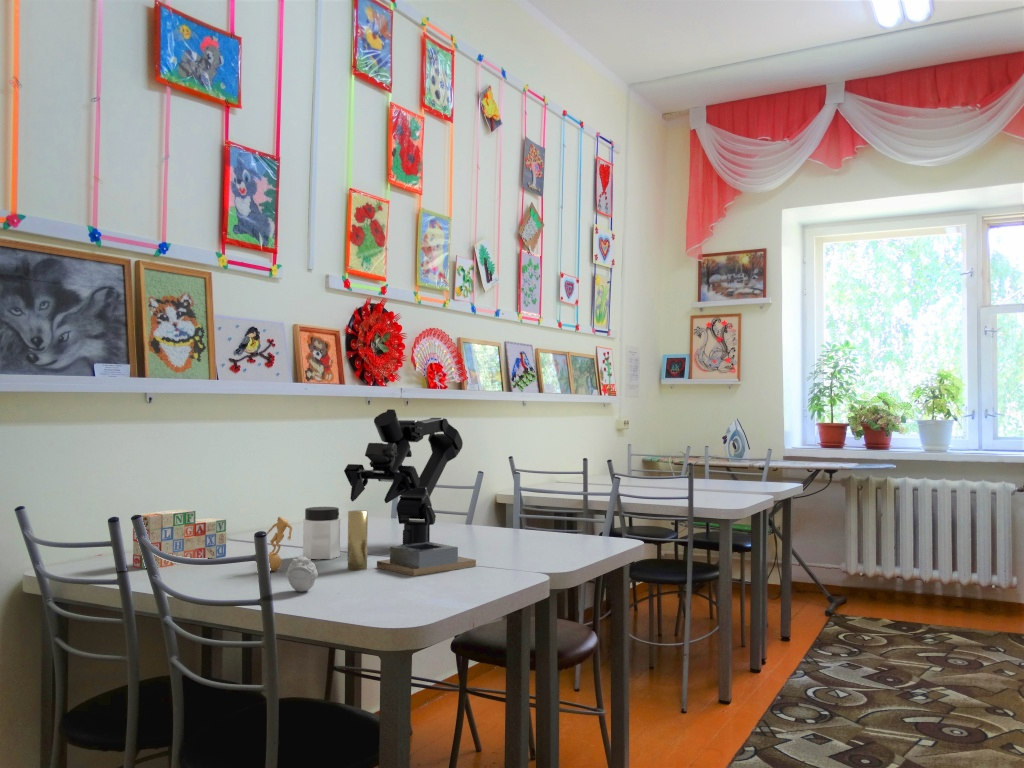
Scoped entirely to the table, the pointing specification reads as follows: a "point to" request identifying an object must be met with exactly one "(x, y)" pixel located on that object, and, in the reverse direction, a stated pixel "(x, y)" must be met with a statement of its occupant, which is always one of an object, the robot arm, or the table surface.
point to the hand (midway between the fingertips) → (368, 500)
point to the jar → (321, 533)
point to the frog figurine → (301, 574)
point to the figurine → (274, 557)
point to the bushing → (357, 539)
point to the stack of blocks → (181, 536)
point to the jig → (424, 559)
